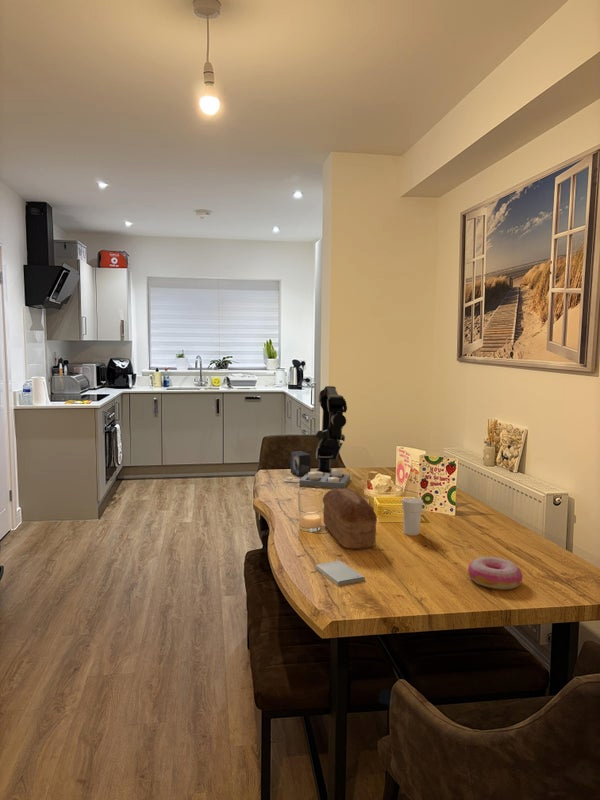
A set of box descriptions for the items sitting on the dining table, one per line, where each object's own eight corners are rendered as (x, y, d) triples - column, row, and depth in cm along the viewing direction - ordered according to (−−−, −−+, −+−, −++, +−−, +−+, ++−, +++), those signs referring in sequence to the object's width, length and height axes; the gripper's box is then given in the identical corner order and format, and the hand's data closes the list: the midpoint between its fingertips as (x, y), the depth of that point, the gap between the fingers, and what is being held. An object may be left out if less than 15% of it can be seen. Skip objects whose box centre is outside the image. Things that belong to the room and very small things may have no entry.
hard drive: (365, 576, 143) (341, 559, 154) (337, 581, 140) (315, 564, 151) (364, 582, 143) (340, 565, 154) (337, 588, 140) (315, 570, 151)
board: (290, 475, 263) (290, 470, 263) (349, 479, 256) (349, 474, 256) (280, 484, 245) (281, 478, 245) (344, 488, 239) (344, 483, 239)
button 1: (309, 477, 249) (309, 471, 249) (320, 478, 248) (320, 472, 248) (307, 480, 245) (307, 473, 244) (318, 481, 243) (318, 474, 243)
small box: (289, 472, 270) (289, 451, 269) (301, 471, 273) (301, 450, 272) (298, 477, 261) (298, 455, 260) (310, 475, 263) (311, 454, 263)
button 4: (332, 474, 256) (332, 468, 256) (342, 475, 255) (343, 469, 255) (330, 477, 251) (330, 470, 251) (341, 478, 250) (341, 471, 250)
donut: (470, 568, 153) (471, 551, 152) (522, 576, 148) (523, 558, 147) (465, 587, 141) (466, 568, 140) (521, 596, 135) (522, 577, 135)
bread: (352, 522, 192) (353, 482, 191) (380, 550, 165) (382, 504, 164) (318, 524, 190) (319, 483, 189) (342, 553, 163) (343, 505, 161)
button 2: (313, 477, 258) (313, 471, 258) (323, 478, 257) (323, 471, 257) (311, 479, 253) (311, 473, 253) (321, 480, 252) (321, 474, 252)
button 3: (328, 483, 248) (329, 476, 247) (339, 483, 246) (340, 477, 246) (326, 485, 243) (327, 479, 242) (338, 486, 242) (338, 479, 241)
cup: (398, 534, 180) (400, 501, 179) (404, 528, 186) (405, 496, 185) (418, 537, 177) (420, 504, 177) (423, 531, 183) (424, 499, 182)
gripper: (321, 421, 254) (320, 454, 255) (313, 426, 236) (312, 462, 237) (345, 422, 251) (344, 455, 253) (339, 427, 233) (338, 463, 234)
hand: (334, 459), depth 244 cm, fingers closed
